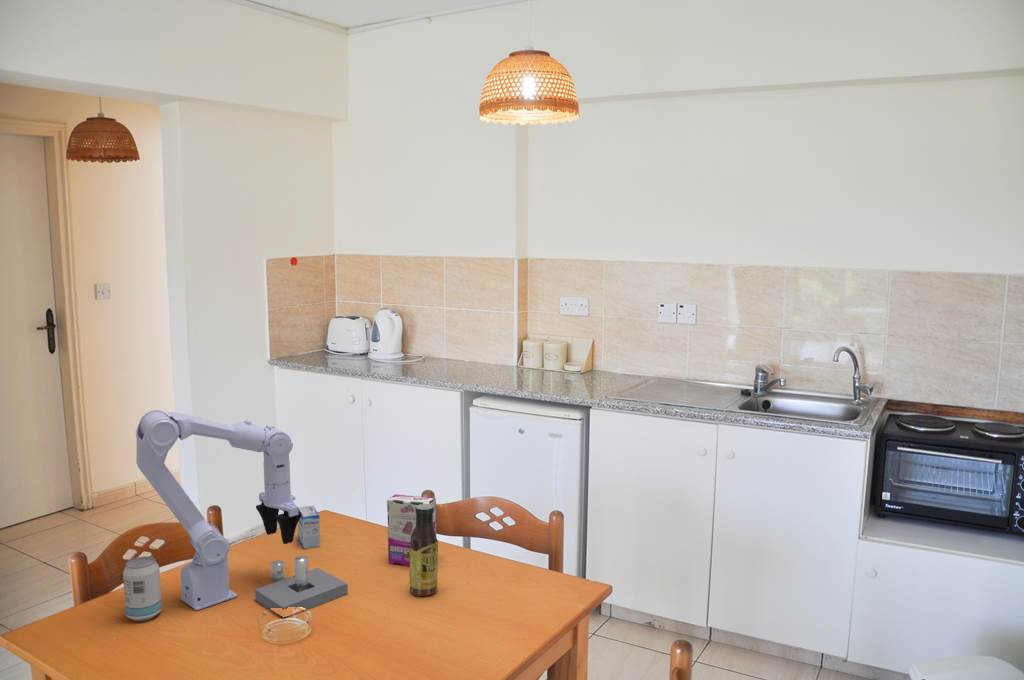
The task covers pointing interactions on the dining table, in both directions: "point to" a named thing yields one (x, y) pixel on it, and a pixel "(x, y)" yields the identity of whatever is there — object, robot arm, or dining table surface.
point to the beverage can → (142, 588)
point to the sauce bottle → (423, 553)
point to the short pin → (277, 571)
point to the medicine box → (309, 527)
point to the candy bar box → (403, 525)
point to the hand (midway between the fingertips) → (279, 538)
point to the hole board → (318, 593)
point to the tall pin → (301, 573)
